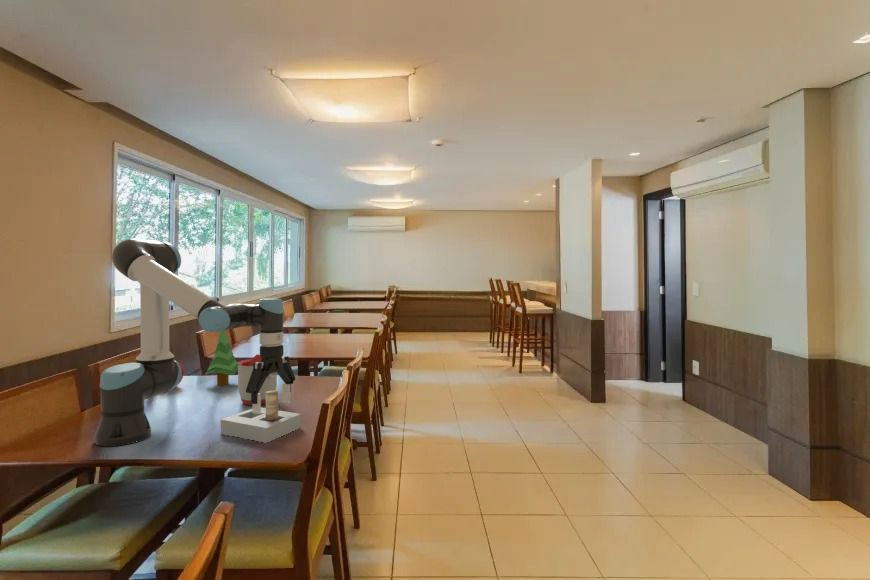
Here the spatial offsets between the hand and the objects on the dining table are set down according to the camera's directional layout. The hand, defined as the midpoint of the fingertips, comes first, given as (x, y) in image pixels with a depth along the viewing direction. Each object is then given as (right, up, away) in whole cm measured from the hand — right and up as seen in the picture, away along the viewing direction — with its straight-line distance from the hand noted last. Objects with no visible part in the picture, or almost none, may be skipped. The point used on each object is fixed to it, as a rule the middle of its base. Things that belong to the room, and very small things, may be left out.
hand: (272, 407), depth 154 cm
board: (-4, -9, +2) cm, 10 cm away
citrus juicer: (-18, -7, +37) cm, 42 cm away
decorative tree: (-47, -6, +66) cm, 81 cm away
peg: (0, -9, 0) cm, 9 cm away
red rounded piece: (-69, -6, +59) cm, 91 cm away
